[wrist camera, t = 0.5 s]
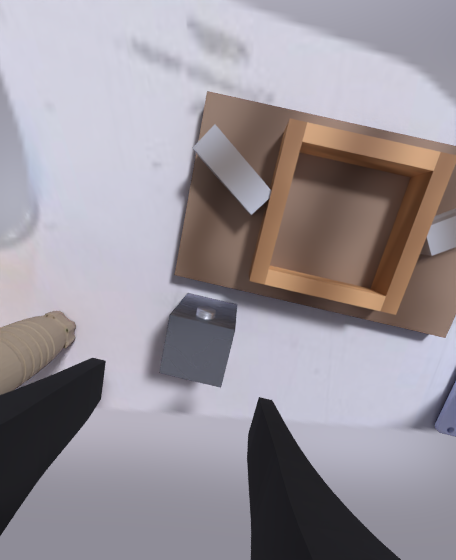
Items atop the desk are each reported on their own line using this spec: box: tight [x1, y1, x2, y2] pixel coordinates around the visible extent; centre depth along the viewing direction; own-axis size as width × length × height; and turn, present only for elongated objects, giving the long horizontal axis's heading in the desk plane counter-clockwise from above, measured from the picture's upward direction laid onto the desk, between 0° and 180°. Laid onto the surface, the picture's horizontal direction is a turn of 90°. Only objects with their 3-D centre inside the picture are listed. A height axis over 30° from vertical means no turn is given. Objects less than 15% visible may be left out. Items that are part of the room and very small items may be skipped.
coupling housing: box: [175, 91, 456, 338], centre depth 17 cm, size 20×12×3 cm, turn 77°
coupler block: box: [159, 293, 237, 387], centre depth 18 cm, size 4×5×5 cm
